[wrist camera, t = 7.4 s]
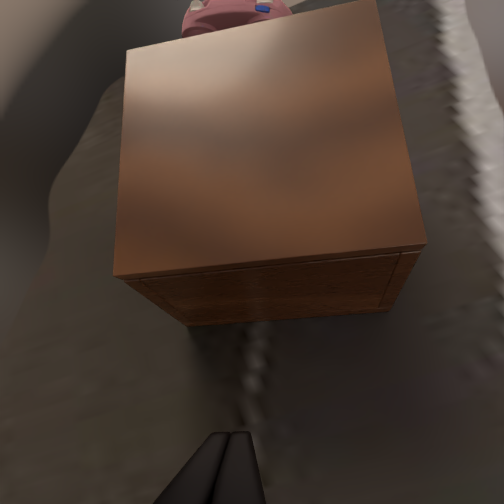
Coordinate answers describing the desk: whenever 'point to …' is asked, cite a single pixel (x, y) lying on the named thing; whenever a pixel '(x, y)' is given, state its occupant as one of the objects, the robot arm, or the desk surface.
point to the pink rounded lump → (229, 14)
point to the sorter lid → (264, 148)
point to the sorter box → (281, 289)
